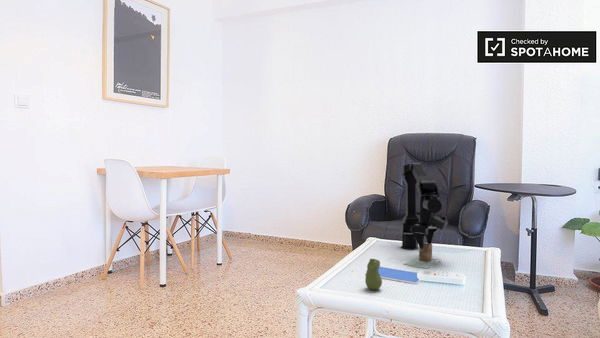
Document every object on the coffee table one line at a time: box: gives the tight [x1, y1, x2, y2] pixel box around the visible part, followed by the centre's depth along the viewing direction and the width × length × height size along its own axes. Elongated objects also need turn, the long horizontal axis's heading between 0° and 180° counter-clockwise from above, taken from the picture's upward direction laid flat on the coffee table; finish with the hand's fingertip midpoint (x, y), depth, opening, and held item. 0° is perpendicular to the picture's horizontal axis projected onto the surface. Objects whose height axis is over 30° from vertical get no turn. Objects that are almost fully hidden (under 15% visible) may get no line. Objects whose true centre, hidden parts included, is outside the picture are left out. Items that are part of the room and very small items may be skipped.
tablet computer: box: [364, 266, 421, 285], centre depth 146 cm, size 19×13×1 cm, turn 59°
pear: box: [364, 258, 383, 291], centre depth 130 cm, size 6×5×10 cm
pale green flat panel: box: [403, 256, 440, 270], centre depth 163 cm, size 10×14×1 cm
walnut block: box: [418, 242, 433, 262], centre depth 166 cm, size 4×4×7 cm
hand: (425, 246), depth 166 cm, fingers open, 9 cm apart
